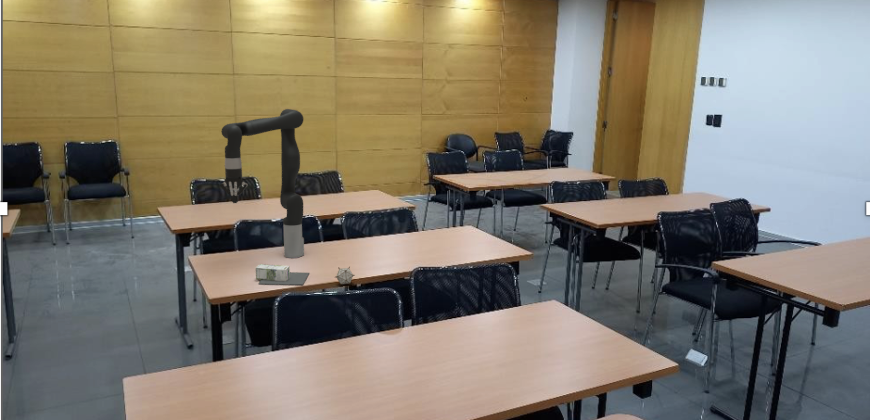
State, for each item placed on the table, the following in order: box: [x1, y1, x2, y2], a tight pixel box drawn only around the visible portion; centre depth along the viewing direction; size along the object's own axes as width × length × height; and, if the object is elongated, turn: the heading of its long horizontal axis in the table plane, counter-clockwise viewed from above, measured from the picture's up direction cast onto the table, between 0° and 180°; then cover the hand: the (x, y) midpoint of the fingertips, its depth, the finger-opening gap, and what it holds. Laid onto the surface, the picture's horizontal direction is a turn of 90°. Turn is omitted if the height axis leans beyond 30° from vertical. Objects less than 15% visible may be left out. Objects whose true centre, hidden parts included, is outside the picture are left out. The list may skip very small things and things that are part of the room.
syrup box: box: [255, 263, 291, 281], centre depth 287 cm, size 6×6×14 cm
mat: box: [258, 271, 310, 287], centre depth 289 cm, size 20×16×1 cm
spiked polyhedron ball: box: [334, 266, 356, 287], centre depth 284 cm, size 9×8×10 cm
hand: (235, 202), depth 298 cm, fingers closed
